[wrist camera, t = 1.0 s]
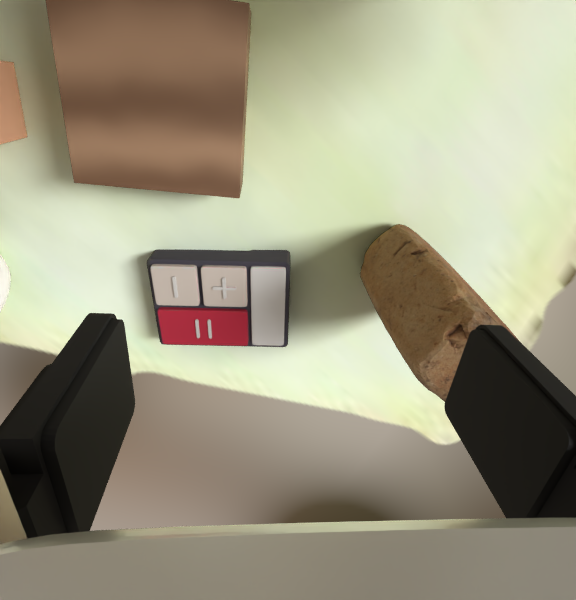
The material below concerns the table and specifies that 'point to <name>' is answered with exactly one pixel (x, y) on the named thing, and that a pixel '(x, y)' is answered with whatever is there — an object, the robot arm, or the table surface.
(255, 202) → the table surface
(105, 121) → the walnut block
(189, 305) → the calculator
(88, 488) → the robot arm
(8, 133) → the terracotta cube
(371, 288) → the brown rock
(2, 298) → the white knot
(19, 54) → the table surface
